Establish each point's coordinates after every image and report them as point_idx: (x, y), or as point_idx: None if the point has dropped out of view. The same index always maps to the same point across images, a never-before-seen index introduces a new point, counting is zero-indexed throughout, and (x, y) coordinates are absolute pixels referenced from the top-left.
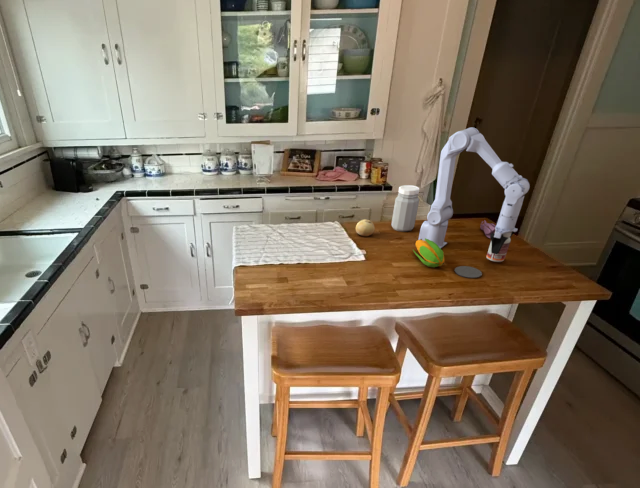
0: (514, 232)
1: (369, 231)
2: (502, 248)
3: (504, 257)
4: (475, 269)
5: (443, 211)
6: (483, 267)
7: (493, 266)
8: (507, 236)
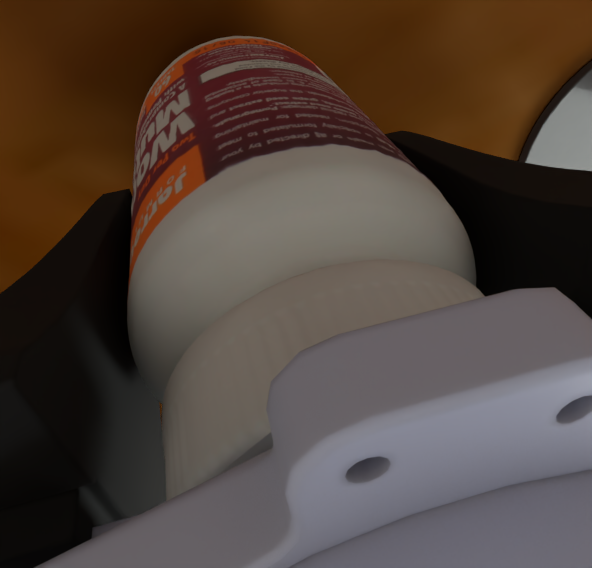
0: (12, 357)
1: None
2: (391, 142)
3: (253, 46)
4: (556, 136)
5: None
6: (442, 121)
7: (355, 67)
8: (461, 286)
